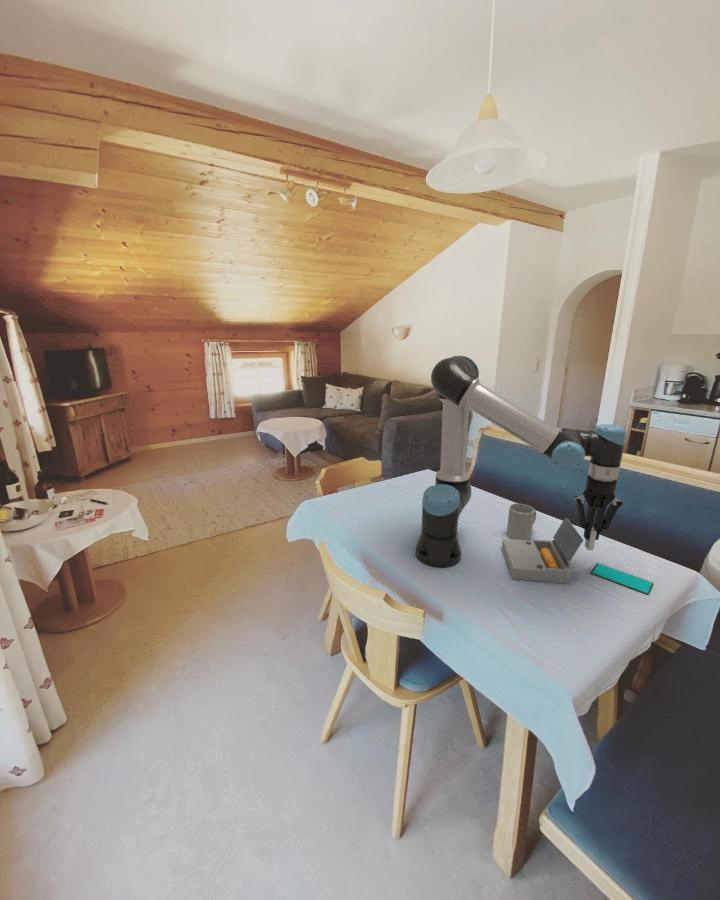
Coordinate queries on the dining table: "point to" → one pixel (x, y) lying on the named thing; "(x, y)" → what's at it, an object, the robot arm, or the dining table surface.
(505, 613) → the dining table surface
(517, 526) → the mug
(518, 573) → the hinged lid box
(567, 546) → the cover
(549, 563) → the capsule
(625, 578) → the smartphone
